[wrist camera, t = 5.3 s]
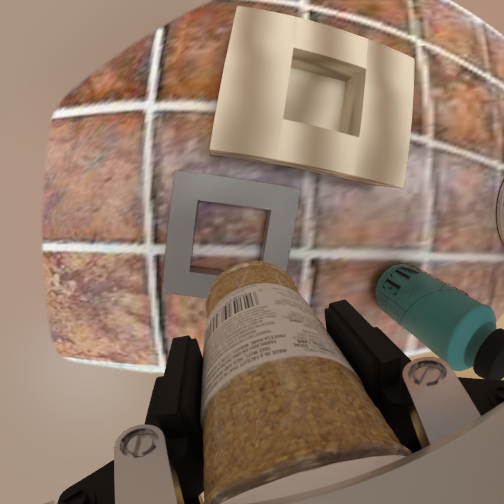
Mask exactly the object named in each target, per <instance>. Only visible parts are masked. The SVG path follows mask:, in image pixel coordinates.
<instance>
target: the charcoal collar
mask: <svg viewBox="0 0 504 504" xmlns="http://www.w3.org/2000/svg"><path fill="white" fill-rule="evenodd" d="M300 190H301V189H299V188H293V187H288V186H282V185H276V184H270V183H264V182H257V181H251V180H244V179H237V178H230V177H223V176H216V175H208V174H200V173H192V172H183V171H175V175H174V182H173V190H172V198H171V206H170V214H169V223H168V233H167V243H166V254H165V265H164V278H163V293H168V294H176V295H184V296H192V297H201V298H208V292H209V289H210V287H211V285H212V284H213V282H214V281H215V279H216V278H217V277H218V276H219V275H220V274H221V273H222V272H224V270H216V269H207V268H199V267H191V259H192V250H193V242H194V233H195V225H196V217H197V209H198V202H199V200H200V201H208V202H216V203H223V204H231V205H238V206H245V207H252V208H259V209H266V210H268V211H267V217H266V223H265V229H264V236H263V242H262V248H261V254H260V260H259V261H264V262H268V263H271V264H275V265H277V266H278V267H280V268H281V269H282V270H284V271H285V272H286V270H287V265H288V259H289V254H290V248H291V243H292V237H293V231H294V226H295V220H296V214H297V208H298V202H299V196H300Z"/></svg>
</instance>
